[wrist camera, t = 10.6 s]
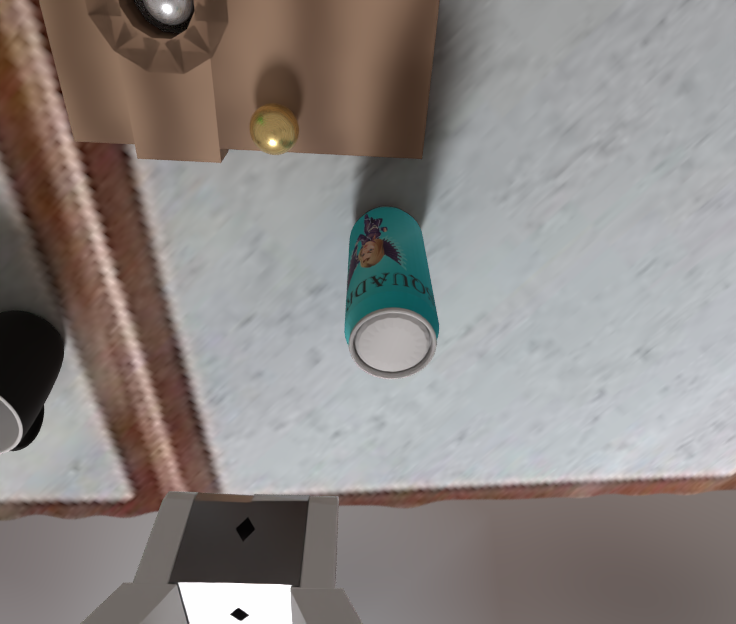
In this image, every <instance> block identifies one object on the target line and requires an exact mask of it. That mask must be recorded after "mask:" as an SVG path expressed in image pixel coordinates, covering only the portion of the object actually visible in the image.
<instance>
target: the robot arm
mask: <svg viewBox="0 0 736 624" xmlns="http://www.w3.org/2000/svg"><path fill="white" fill-rule="evenodd" d="M338 507H339V500H338V496H310V495H267V494H254V495H239V494H218V493H199V492H172V491H169V492H168V493H167V495H166V496H165V498H164V499H163V501H162V503H161V506H160V509H159V512H158V515H157V517H156V520H155V523H154V526H153V528H152V531H151V534H150V537H149V539H148V542H147V545H146V548H145V550H144V553H143V556H142V559H141V561H140V564H139V567H138V570H137V572H136V576H135V578H134V581H133V583H123V584H122V585H121V586H120V587H119V588H118V589H117V590H116V591H114V592H113V593H112V594H111V595H110V596H109V597H108V598H107V599H106V600H105V601H104V602H103V603H102V604H101V605H100V606H99V607H98V608H96V609H95V611H93V612H92V613H91V614H90V615H89V616H88V617H87V618H86V619H85V620H84V621H83V622H82V623H81V624H363V623H362V621H361V619H360V618H359V616H358V614H357V612H356V610H355V609H354V607H353V605H352V604H351V602H350V600H349V598H348V596H347V595H346V593H345V591H344V589H342V588H335V584H336V565H337V534H338Z"/></svg>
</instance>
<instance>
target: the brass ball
mask: <svg viewBox="0 0 736 624" xmlns="http://www.w3.org/2000/svg"><path fill="white" fill-rule="evenodd" d="M249 130H250V136H251V138H252V140H253V142H254V144H255V145H256V146H257V147H258V148H259V149H260V150H262V151H263V152H265V153H268V154H272V155H279V154H284V153H286V152H288V151H289V150H290V149H292V148H293V146H294V145H295V144H296V142H297V140H298V136H299V124H298V121H297V119H296V117H295V115H294V114H293V112H292V111H291V110H290V109H288V108H287V107H286V106H284V105H281V104H278V103H268V104H265V105H262V106H261V107H259V108H258V109H257V110H256V111H255V112H254V113H253V115H252V117H251V120H250V124H249Z"/></svg>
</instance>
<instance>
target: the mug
mask: <svg viewBox="0 0 736 624" xmlns="http://www.w3.org/2000/svg"><path fill="white" fill-rule="evenodd" d="M63 358H64V345H63V341H62V338H61V336H60V335H59V333H58V332H57V330H56V329H55V328H54V327H53V326H52V325H51V324H50V323H48V322H47V321H45V320H44V319H42V318H40V317H38V316H36V315H34V314H31V313H27V312H22V311H7V312H2V313H0V454H3V453H6V452H8V451H17V450H21V449H23V448H25V447H27V446H28V445H29V444H30V443H32V442H33V440H34V439H35V438H36V436H37V435H38V433H39V431H40V428H41V426H42V422H43V417H44V403H45V401H46V399H47V398H48V396H49V394H50V392H51V390H52V388H53V385H54V383H55V381H56V379H57V376H58V374H59V372H60V369H61V366H62V362H63Z"/></svg>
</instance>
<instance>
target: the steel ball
mask: <svg viewBox="0 0 736 624" xmlns="http://www.w3.org/2000/svg"><path fill="white" fill-rule="evenodd" d="M142 1H143V3H144V5H145V7H146V9H147V10H148V12H149V13H150V14H151V15H152V16H153V17H154V18H155V19H157V20H158V21H160V22H162V23H164V24H168V25H178V24H182V23H184V22H186V21H187V20H188V19H189V18H190V17H191V16H192V14H193V13H194V10H195V9H194V0H142Z"/></svg>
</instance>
